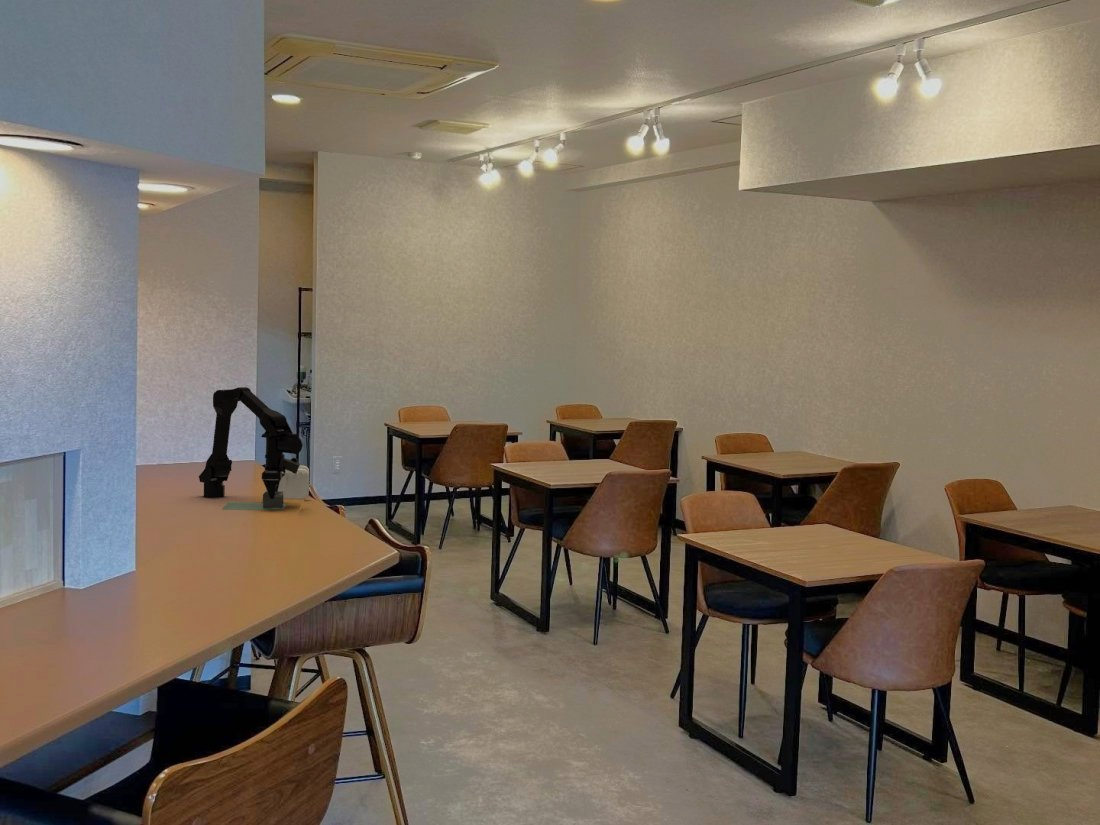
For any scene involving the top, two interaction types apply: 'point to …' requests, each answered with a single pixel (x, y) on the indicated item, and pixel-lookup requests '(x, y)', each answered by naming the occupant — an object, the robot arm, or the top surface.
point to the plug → (273, 500)
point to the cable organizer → (295, 484)
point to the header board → (249, 506)
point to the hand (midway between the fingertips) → (273, 496)
